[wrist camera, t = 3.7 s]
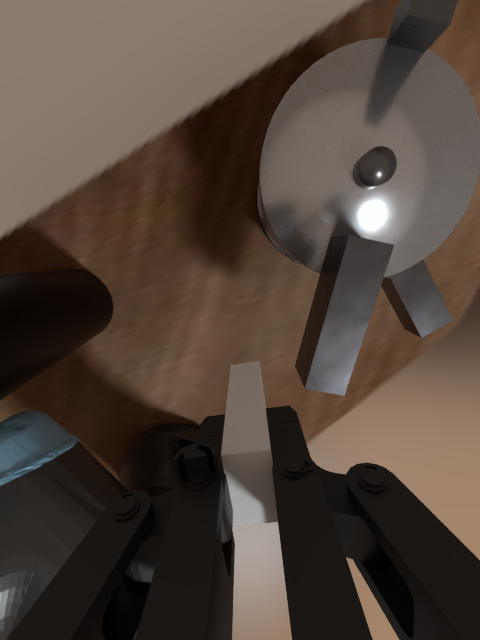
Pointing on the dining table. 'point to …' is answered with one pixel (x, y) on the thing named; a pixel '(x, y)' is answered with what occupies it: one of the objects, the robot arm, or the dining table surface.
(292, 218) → the lid
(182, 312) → the dining table surface
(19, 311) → the water bottle
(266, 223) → the pot
